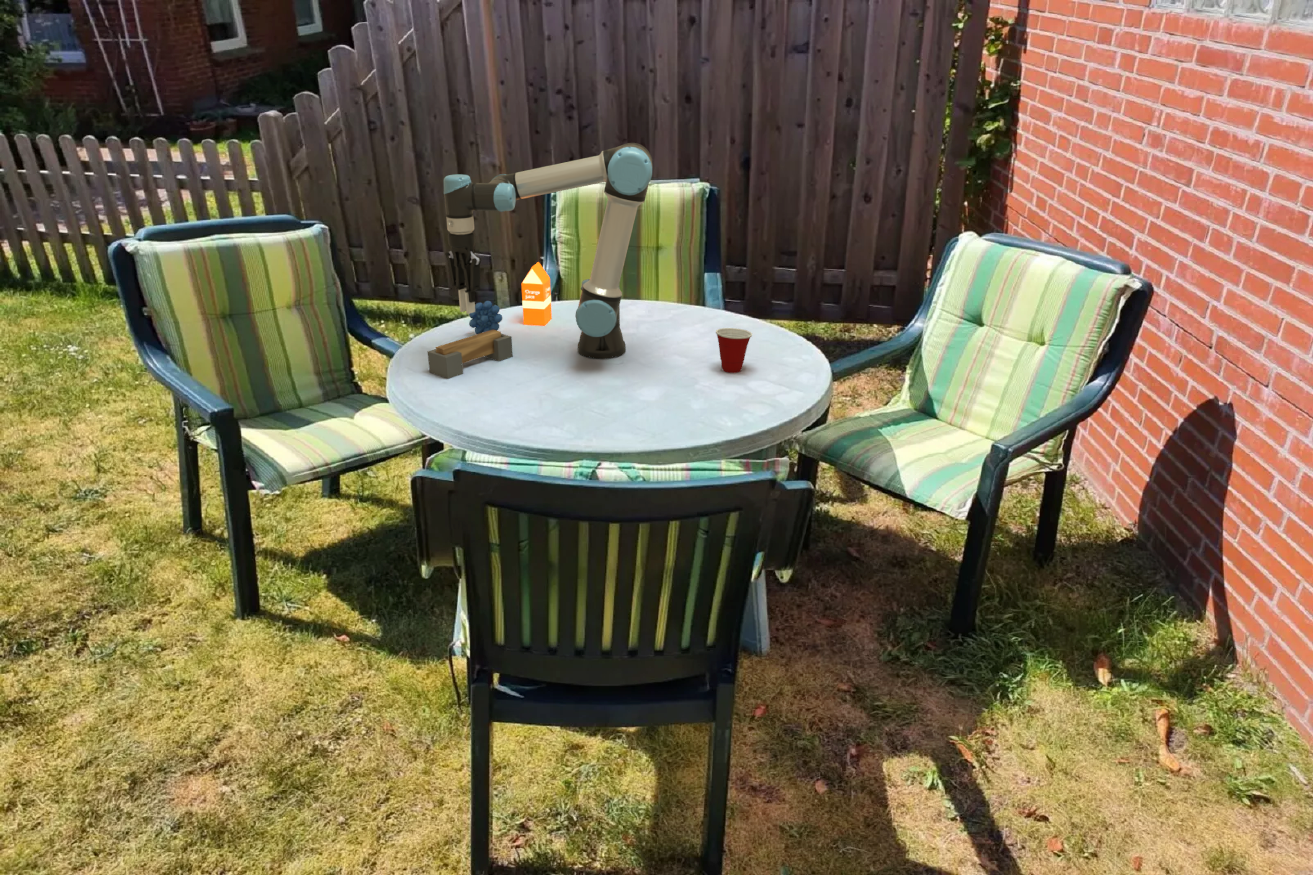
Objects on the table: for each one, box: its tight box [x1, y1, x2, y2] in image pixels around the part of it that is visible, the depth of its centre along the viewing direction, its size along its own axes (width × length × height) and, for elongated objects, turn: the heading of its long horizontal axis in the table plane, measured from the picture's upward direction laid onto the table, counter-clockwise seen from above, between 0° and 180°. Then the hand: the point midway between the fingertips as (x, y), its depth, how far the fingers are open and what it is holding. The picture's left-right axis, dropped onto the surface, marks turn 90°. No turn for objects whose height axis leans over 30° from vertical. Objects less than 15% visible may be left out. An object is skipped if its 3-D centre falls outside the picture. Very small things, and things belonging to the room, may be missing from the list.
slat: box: [435, 330, 502, 364], centre depth 269 cm, size 4×22×6 cm, turn 141°
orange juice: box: [521, 261, 553, 327], centre depth 307 cm, size 8×9×20 cm
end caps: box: [427, 333, 514, 380], centre depth 270 cm, size 8×25×6 cm, turn 141°
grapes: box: [468, 300, 503, 335], centre depth 295 cm, size 12×7×12 cm, turn 78°
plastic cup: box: [715, 327, 753, 374], centre depth 266 cm, size 11×11×12 cm
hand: (467, 311), depth 265 cm, fingers open, 2 cm apart
